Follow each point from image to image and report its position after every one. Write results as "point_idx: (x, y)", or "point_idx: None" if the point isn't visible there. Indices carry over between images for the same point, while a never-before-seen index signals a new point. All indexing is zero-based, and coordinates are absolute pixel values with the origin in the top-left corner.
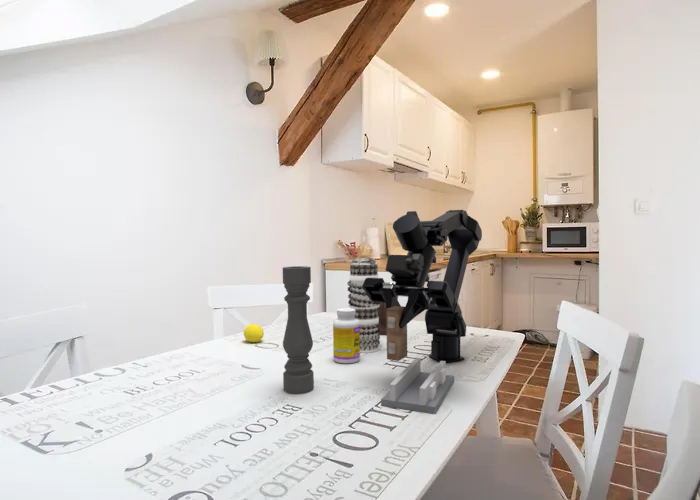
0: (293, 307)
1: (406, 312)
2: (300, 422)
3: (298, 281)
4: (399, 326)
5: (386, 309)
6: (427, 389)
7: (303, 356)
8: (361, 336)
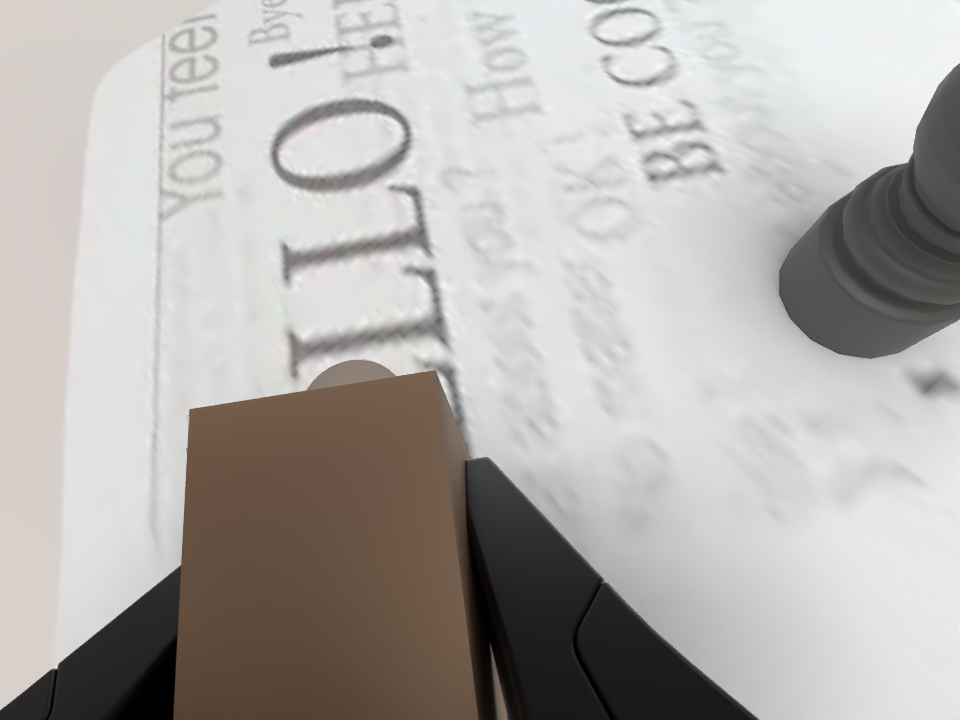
0: None
1: (125, 618)
2: (555, 115)
3: None
4: None
5: (432, 373)
6: None
7: (915, 179)
8: None
